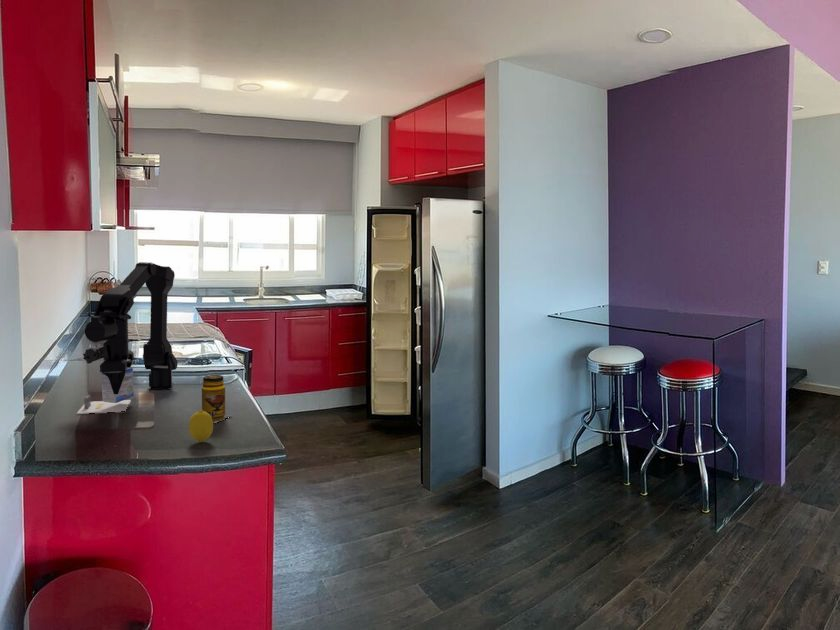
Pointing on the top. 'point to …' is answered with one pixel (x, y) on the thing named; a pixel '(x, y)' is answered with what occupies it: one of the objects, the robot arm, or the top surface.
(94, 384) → the top surface
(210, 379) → the condiment
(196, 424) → the lemon
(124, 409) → the board
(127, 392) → the medicine box
